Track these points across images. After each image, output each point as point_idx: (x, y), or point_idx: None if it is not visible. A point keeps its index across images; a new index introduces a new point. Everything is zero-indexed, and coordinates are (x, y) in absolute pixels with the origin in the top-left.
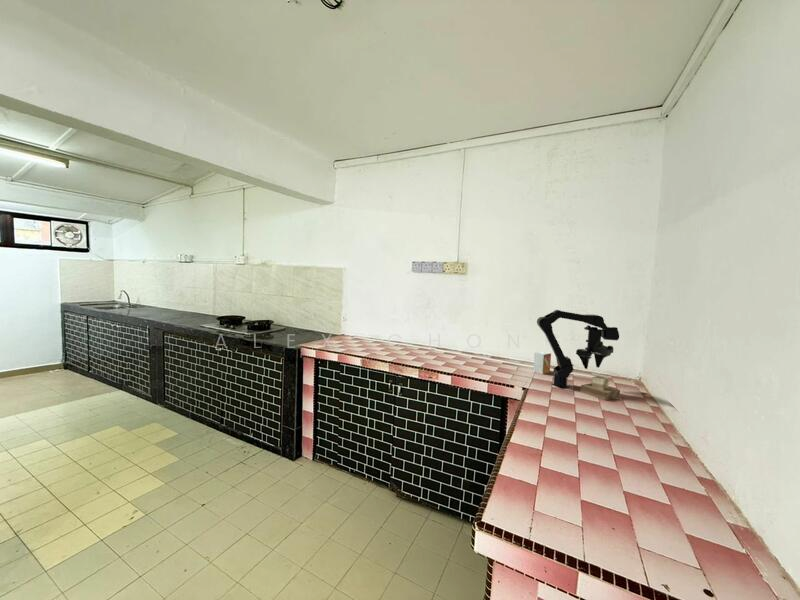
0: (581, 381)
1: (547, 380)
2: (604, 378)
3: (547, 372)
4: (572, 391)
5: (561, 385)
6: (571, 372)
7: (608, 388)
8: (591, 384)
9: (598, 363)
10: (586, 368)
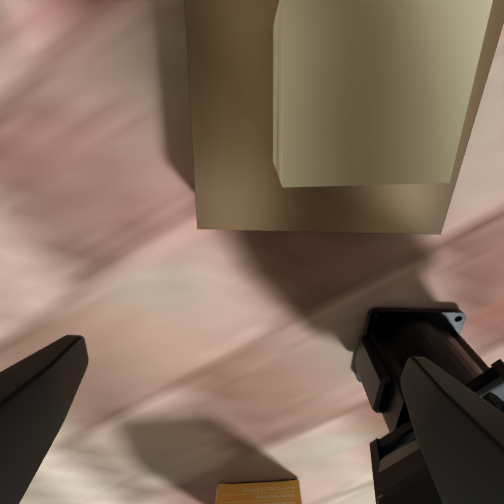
0: (137, 350)
1: (358, 428)
2: (362, 28)
3: (243, 497)
4: (456, 243)
5: (448, 332)
6: (490, 396)
7: (268, 23)
8: (309, 206)
9: (26, 414)
10: (431, 364)
